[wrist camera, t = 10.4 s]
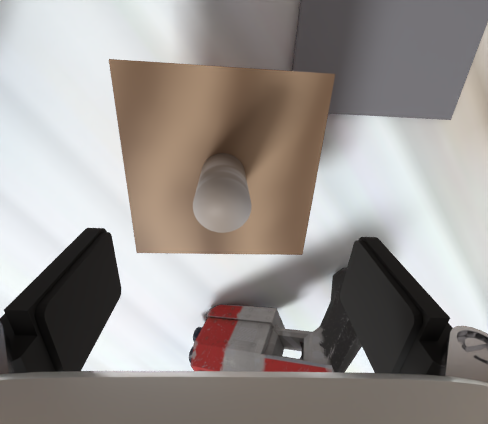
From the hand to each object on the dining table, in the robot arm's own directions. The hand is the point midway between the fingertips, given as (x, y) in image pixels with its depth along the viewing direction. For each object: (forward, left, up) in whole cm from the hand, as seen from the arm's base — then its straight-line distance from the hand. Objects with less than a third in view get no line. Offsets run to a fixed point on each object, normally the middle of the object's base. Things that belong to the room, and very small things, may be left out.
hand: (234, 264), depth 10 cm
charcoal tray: (-13, -12, -18) cm, 26 cm away
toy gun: (-7, +20, -19) cm, 28 cm away
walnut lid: (+1, 0, -11) cm, 11 cm away
